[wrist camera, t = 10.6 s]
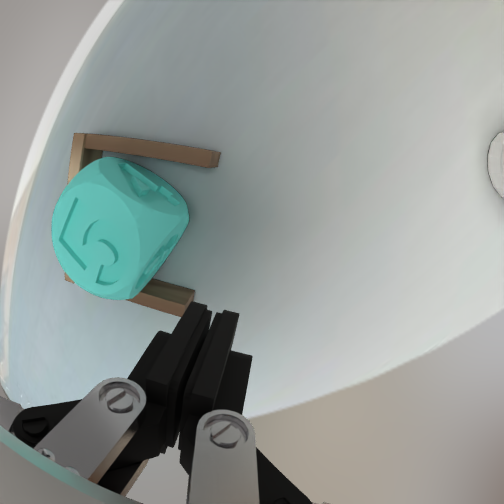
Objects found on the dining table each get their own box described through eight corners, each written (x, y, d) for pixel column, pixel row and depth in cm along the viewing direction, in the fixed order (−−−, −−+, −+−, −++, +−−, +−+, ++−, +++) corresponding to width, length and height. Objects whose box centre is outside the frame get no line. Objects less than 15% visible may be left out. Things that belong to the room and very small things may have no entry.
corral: (95, 134, 24) (74, 132, 20) (220, 152, 23) (211, 151, 20) (83, 268, 28) (64, 279, 25) (193, 301, 27) (182, 319, 24)
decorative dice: (130, 154, 24) (74, 156, 16) (201, 206, 25) (166, 228, 17) (92, 226, 26) (38, 251, 19) (155, 277, 27) (114, 318, 20)
